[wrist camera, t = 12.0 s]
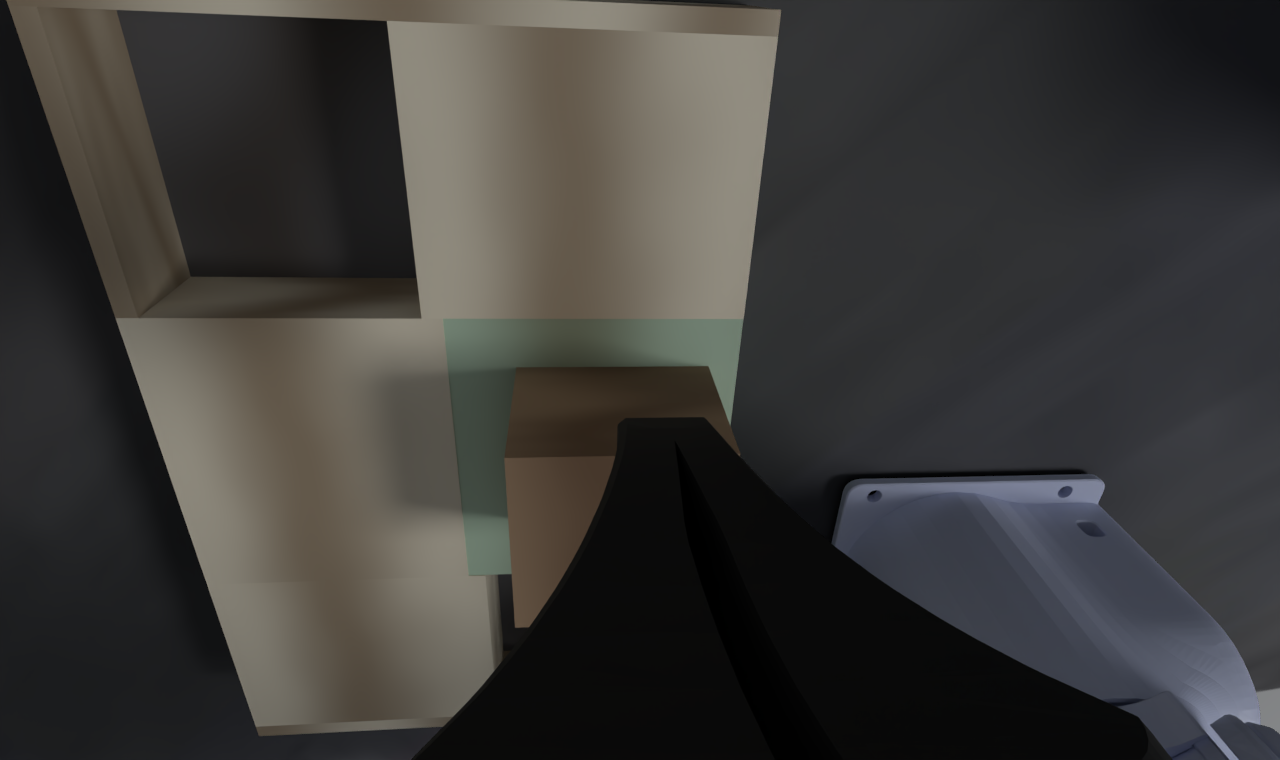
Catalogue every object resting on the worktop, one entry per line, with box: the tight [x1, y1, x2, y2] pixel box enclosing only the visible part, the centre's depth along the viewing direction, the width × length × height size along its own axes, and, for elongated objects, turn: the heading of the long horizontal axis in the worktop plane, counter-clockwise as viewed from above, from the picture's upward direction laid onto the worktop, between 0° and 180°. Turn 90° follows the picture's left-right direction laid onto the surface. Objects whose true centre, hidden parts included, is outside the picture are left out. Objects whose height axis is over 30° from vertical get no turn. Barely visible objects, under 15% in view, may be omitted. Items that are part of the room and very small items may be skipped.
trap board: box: [6, 0, 781, 736], centre depth 21 cm, size 15×22×3 cm, turn 178°
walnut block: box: [504, 366, 740, 628], centre depth 18 cm, size 5×5×4 cm
